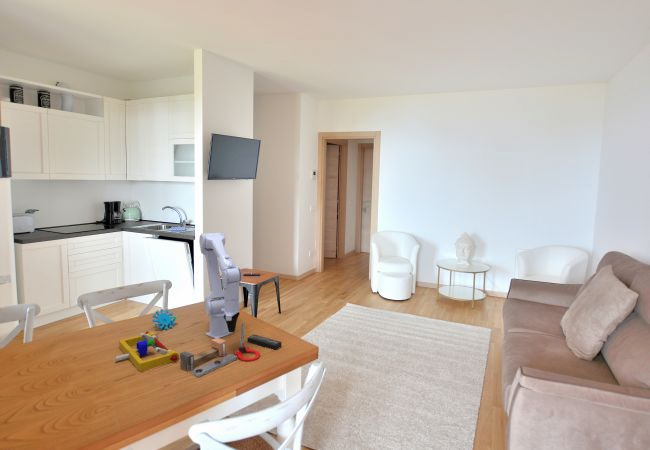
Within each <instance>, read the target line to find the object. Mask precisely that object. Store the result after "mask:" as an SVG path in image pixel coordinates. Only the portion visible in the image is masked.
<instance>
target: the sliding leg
mask: <svg viewBox="0 0 650 450" xmlns="http://www.w3.org/2000/svg"><path fill="white" fill-rule="evenodd" d="M212 348H216V349H218V350H219V356H218V357H219V358H222V357H224V356H226V355H227V340H224V339H223V338H213V339H211V340H210V349H212Z"/></svg>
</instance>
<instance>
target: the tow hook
mask: <svg viewBox="0 0 650 450" xmlns="http://www.w3.org/2000/svg"><path fill="white" fill-rule="evenodd" d="M239 342H240V343H239V347H238V350H237V351H234V352H233V355H234V356H236V357H237V360H240V361H242V362H251V363H252V362H255V361H258V360H259V359H260V358H261V352H260V351H258V350H256V349H251V348H250V347H249V346H248V347H246V346H245V322H244V321H242V322H241V327H240V341H239ZM245 353H246V354H248V353H249V354H254V355H255V356H253V357H244V356H243V354H245Z"/></svg>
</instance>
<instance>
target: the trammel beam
mask: <svg viewBox="0 0 650 450" xmlns="http://www.w3.org/2000/svg"><path fill="white" fill-rule="evenodd" d="M217 357H219V350H218V349H216V348H212V349H211V348H210V349H207V350H205V351H202V352H201V353H198V354H195V355H194V354H193V353H191V352H189V351H187V350H185V351H183V352H180V353H179V363H180V365H179V367H180V369H182V370H184V371H187V372H189V371H191V372H192V371H193V370H195V369H194V368H195V367H198V366H199V365H201V364H205V363H207V362H210V361H211V360H213V359H216V358H217Z"/></svg>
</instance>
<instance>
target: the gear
mask: <svg viewBox="0 0 650 450" xmlns="http://www.w3.org/2000/svg"><path fill="white" fill-rule="evenodd" d="M164 311H165V312H164ZM169 312H170V313H169ZM173 315H174V312H171V311H170V310H169V309H166V310H164V308H163V309H161V308H160V311H159V310H156V311H155V313H153V315H152V318H153V319H152V323H154V326H155V327H158V326H159V327H158V329H159V330H162V329H163V327H164V326H165V327H164V331H165V330H166V331H167V330H168V328H169V329H172V328H173V326H174V325H175V324H176V321H175V320H177V318H178V315H175V316H173Z"/></svg>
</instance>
